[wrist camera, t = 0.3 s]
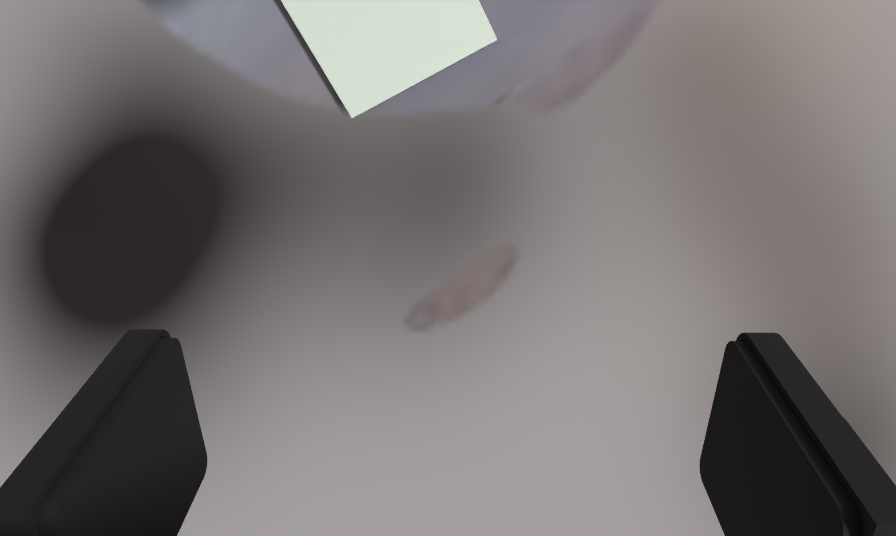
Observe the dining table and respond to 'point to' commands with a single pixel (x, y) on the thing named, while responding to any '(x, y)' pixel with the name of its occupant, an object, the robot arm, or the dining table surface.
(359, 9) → the pale green square plate
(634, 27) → the dining table surface
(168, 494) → the robot arm
